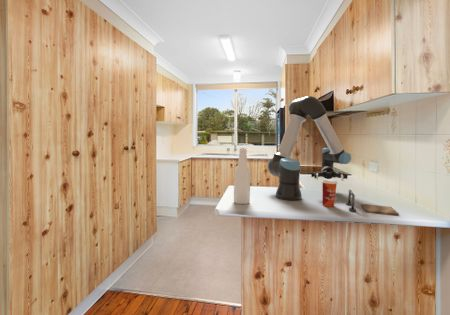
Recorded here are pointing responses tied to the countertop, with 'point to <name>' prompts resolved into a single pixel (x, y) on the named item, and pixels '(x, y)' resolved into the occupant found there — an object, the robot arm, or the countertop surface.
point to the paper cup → (329, 192)
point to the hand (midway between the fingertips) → (329, 177)
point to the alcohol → (242, 179)
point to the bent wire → (351, 202)
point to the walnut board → (379, 209)
